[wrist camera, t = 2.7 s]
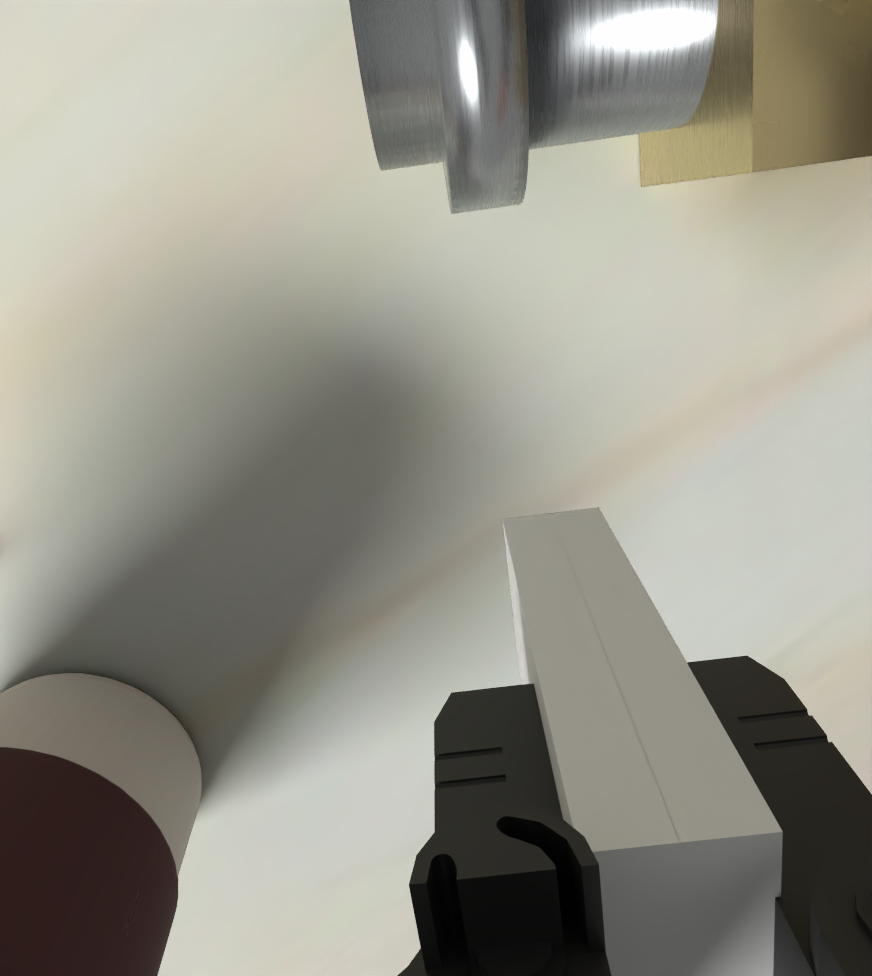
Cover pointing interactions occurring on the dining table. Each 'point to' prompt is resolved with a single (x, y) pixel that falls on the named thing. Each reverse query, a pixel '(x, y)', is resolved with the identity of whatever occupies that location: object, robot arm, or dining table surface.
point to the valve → (613, 85)
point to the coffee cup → (90, 826)
